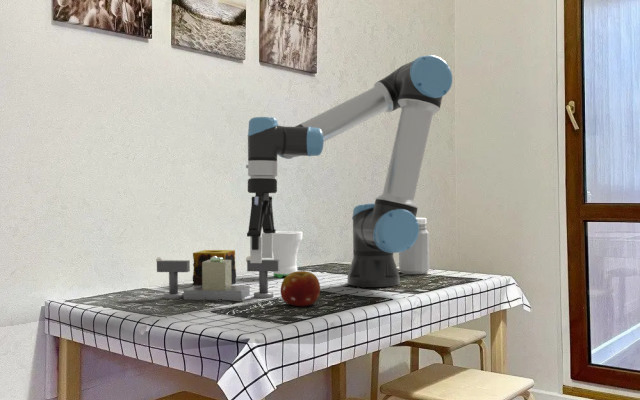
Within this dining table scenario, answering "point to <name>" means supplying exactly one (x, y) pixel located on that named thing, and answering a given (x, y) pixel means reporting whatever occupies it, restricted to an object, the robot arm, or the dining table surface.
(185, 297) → the level base
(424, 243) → the jar
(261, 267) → the knob
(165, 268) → the knob
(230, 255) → the candle
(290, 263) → the cup
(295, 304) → the fruit
